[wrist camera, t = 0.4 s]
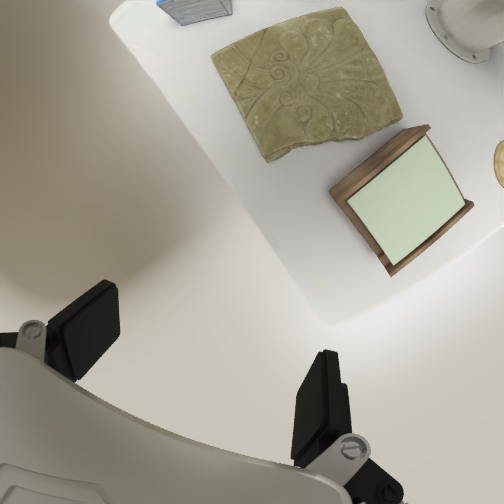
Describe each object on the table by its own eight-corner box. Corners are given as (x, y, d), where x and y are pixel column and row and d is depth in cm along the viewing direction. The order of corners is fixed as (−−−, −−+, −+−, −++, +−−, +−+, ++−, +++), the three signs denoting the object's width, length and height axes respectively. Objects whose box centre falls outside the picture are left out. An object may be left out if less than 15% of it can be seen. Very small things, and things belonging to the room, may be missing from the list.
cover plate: (419, 136, 24) (425, 135, 22) (458, 201, 25) (465, 204, 24) (344, 198, 28) (346, 201, 27) (389, 259, 30) (393, 265, 28)
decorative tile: (213, 60, 31) (205, 52, 27) (341, 13, 25) (344, 2, 21) (268, 173, 35) (264, 175, 32) (402, 125, 29) (411, 122, 26)
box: (403, 129, 29) (428, 124, 22) (444, 194, 31) (474, 205, 23) (328, 191, 34) (335, 201, 27) (375, 252, 36) (390, 277, 28)
